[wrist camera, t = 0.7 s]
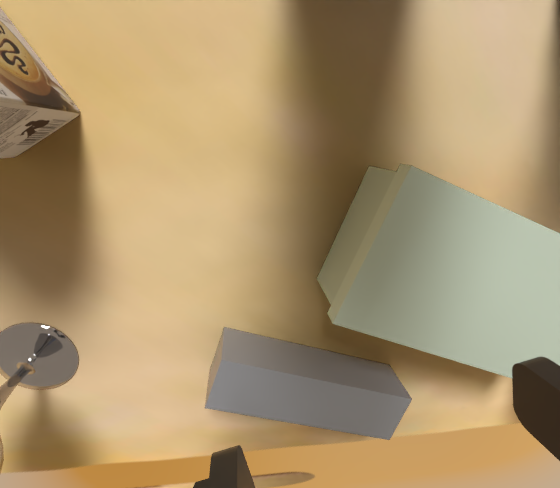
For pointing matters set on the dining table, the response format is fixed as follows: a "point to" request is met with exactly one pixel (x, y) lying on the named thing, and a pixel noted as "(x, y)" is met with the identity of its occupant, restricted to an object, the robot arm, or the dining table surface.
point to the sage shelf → (444, 272)
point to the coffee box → (27, 95)
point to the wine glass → (34, 360)
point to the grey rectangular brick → (304, 386)
